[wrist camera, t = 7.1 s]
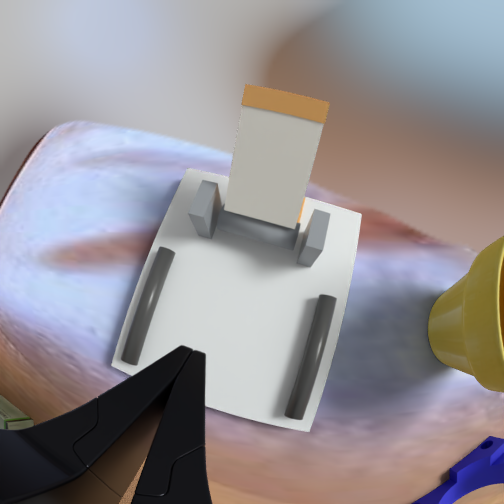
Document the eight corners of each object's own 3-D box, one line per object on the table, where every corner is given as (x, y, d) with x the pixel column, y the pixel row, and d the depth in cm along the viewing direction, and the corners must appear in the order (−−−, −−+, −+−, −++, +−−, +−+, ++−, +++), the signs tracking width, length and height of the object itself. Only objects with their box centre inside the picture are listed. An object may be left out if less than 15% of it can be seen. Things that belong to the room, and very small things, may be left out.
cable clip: (488, 435, 14) (526, 443, 9) (487, 464, 13) (521, 474, 7) (396, 501, 13) (428, 529, 8) (398, 526, 12) (425, 554, 6)
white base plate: (304, 425, 16) (321, 450, 11) (120, 364, 17) (84, 367, 13) (355, 222, 21) (379, 190, 16) (191, 178, 22) (178, 139, 18)
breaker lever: (291, 256, 17) (334, 104, 12) (215, 234, 18) (241, 83, 13) (294, 242, 19) (332, 104, 14) (224, 222, 19) (249, 86, 14)
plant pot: (384, 328, 18) (473, 309, 9) (448, 247, 20) (519, 199, 11) (445, 409, 16) (527, 423, 7) (498, 324, 18) (570, 305, 9)
